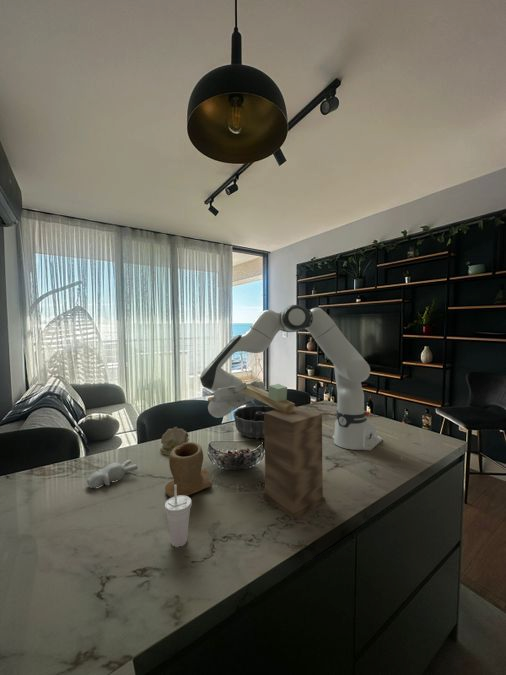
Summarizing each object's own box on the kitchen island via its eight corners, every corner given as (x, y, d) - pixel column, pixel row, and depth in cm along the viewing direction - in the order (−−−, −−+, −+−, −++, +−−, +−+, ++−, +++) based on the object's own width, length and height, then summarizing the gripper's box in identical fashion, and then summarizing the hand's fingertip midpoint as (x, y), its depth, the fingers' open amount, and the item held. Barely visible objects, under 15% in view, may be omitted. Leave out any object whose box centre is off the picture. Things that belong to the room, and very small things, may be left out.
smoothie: (168, 533, 75) (166, 478, 74) (194, 531, 75) (192, 477, 75) (163, 552, 68) (161, 493, 68) (191, 550, 69) (189, 491, 68)
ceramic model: (154, 455, 121) (153, 431, 121) (166, 444, 132) (165, 422, 132) (187, 456, 119) (187, 432, 119) (196, 445, 130) (195, 423, 130)
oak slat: (250, 391, 106) (251, 384, 106) (294, 411, 89) (294, 403, 89) (243, 392, 104) (243, 386, 104) (285, 413, 87) (286, 405, 87)
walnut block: (293, 483, 97) (292, 405, 96) (325, 501, 87) (324, 414, 86) (263, 497, 89) (261, 412, 88) (293, 519, 79) (292, 423, 78)
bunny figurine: (83, 472, 99) (127, 453, 110) (85, 486, 100) (129, 466, 110) (91, 482, 92) (138, 461, 103) (94, 497, 93) (140, 474, 103)
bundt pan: (296, 429, 148) (296, 409, 148) (270, 447, 126) (270, 424, 126) (252, 420, 162) (251, 403, 162) (222, 436, 140) (221, 415, 140)
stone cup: (173, 508, 85) (172, 457, 84) (161, 489, 95) (160, 443, 94) (220, 491, 93) (219, 444, 93) (205, 475, 103) (204, 433, 103)
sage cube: (277, 395, 95) (278, 383, 94) (286, 399, 92) (287, 387, 91) (268, 397, 93) (269, 385, 92) (276, 401, 89) (277, 389, 89)
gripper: (206, 393, 108) (222, 379, 98) (250, 386, 120) (269, 372, 111) (210, 410, 106) (228, 397, 96) (255, 400, 118) (275, 388, 108)
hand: (250, 384), depth 103 cm, fingers closed on oak slat, 3 cm apart
